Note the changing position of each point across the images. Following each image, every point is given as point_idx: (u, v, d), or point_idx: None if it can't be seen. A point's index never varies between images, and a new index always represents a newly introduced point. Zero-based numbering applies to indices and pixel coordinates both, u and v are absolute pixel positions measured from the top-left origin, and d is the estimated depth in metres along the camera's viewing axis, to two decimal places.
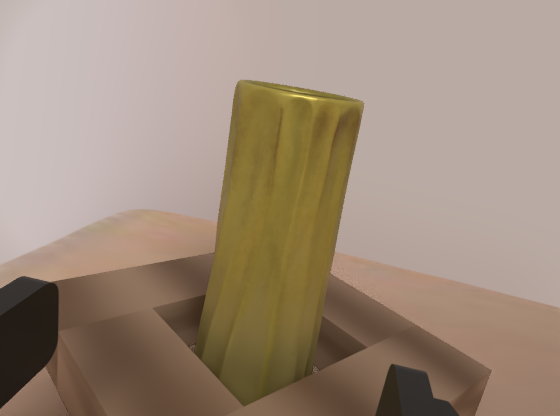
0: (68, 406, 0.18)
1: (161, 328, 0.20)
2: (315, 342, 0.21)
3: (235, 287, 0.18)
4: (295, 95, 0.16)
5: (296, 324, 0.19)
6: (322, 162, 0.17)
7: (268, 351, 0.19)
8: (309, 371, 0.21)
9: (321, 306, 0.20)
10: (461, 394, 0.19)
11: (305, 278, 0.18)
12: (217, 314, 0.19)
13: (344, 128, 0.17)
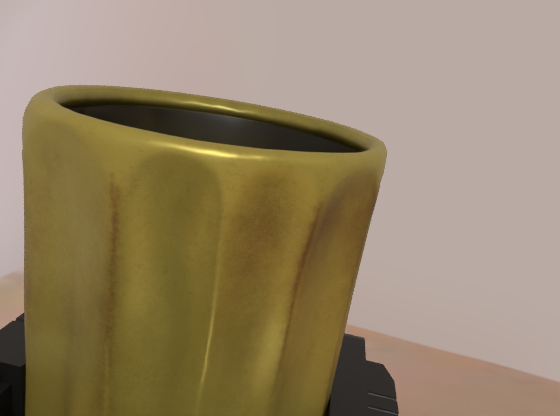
0: None
1: None
2: None
3: None
4: (157, 143, 0.04)
5: None
6: (267, 338, 0.05)
7: None
8: None
9: None
10: None
11: None
12: None
13: (332, 232, 0.06)
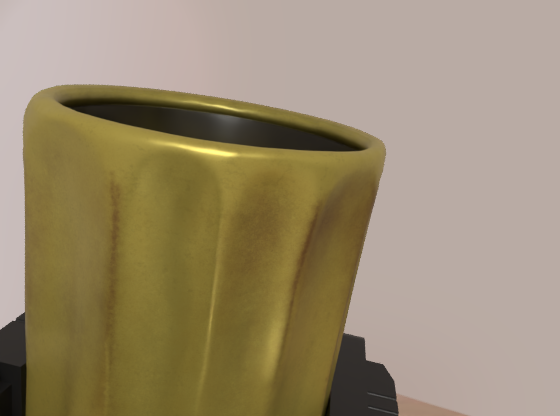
0: None
1: None
2: None
3: None
4: (157, 142, 0.05)
5: None
6: (266, 336, 0.06)
7: None
8: None
9: None
10: None
11: None
12: None
13: (331, 230, 0.06)
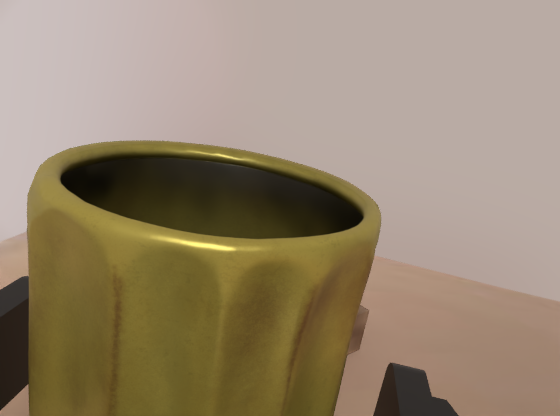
0: None
1: None
2: None
3: None
4: (159, 238, 0.05)
5: None
6: (264, 411, 0.06)
7: None
8: None
9: None
10: None
11: None
12: None
13: (328, 305, 0.06)
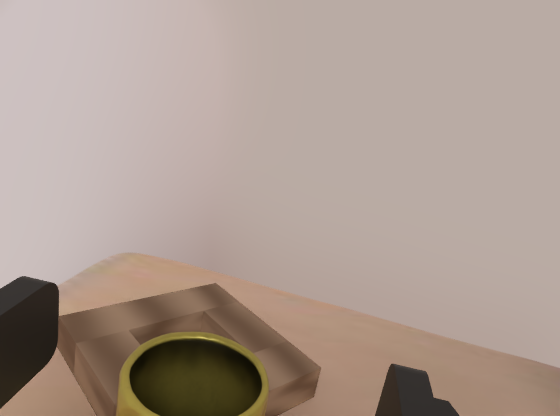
0: (80, 384, 0.34)
1: (132, 341, 0.36)
2: None
3: None
4: None
5: None
6: None
7: None
8: None
9: None
10: (295, 379, 0.36)
11: None
12: None
13: None
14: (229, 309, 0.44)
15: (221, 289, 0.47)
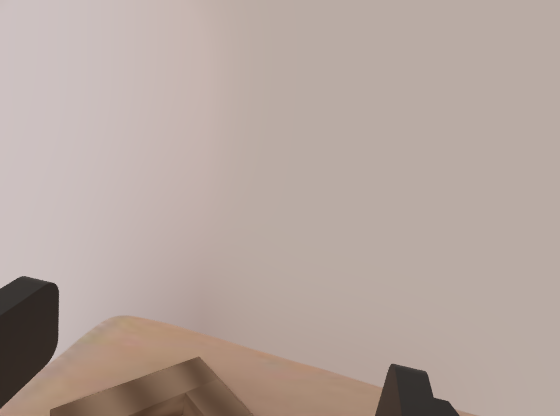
0: None
1: None
2: None
3: None
4: None
5: None
6: None
7: None
8: None
9: None
10: None
11: None
12: None
13: None
14: (209, 388, 0.47)
15: (203, 363, 0.51)
